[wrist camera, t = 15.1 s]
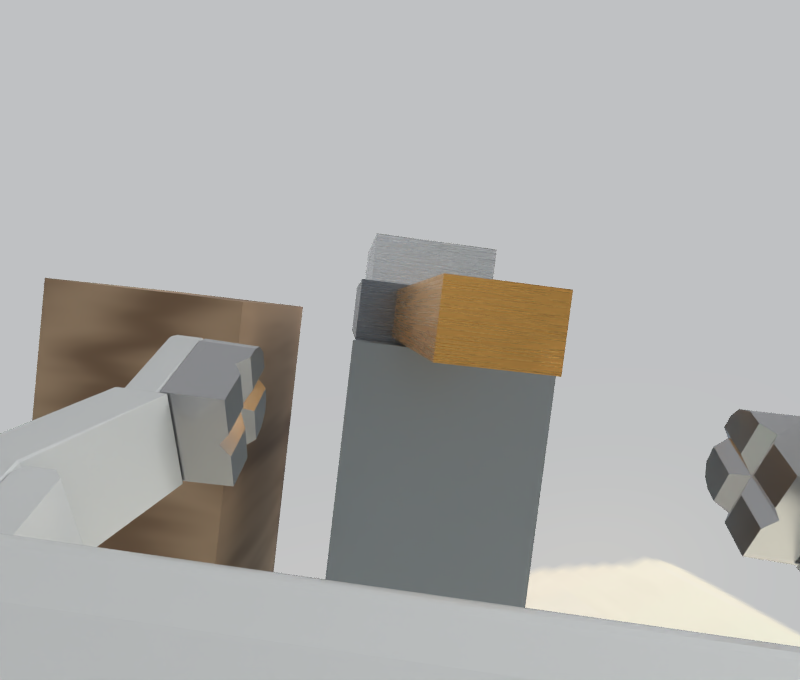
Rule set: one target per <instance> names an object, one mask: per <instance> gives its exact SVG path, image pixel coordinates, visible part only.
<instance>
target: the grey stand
mask: <svg viewBox="0 0 800 680" xmlns="http://www.w3.org/2000/svg"><path fill="white" fill-rule="evenodd" d="M555 378H556V376H550V375H541V374H532V373H523V372H514V371H505V370H496V369H487V368H478V367H469V366H460V365H451V364H442V363H433V362H431V361H430V360H428V359H426V358H425V357H423V356H422V355H420V354H418V353H417V352H415V351H413V350H412V349H410V348H409V347H407V346H405V345H403V344H394V343H385V342H376V341H367V340H358V339H356V340H353V346H352V354H351V363H350V372H349V380H348V390H347V398H346V407H345V415H344V424H343V433H342V442H341V451H340V460H339V467H338V476H337V485H336V493H335V502H334V511H333V519H332V528H331V537H330V545H329V555H328V563H327V571H326V580H333V581H340V582H347V583H354V584H361V585H368V586H375V587H382V588H389V589H396V590H403V591H410V592H417V593H424V594H431V595H438V596H445V597H452V598H459V599H467V600H474V601H481V602H488V603H495V604H502V605H509V606H516V607H523V608H525V603H526V596H527V588H528V581H529V573H530V566H531V558H532V551H533V543H534V536H535V528H536V521H537V513H538V506H539V498H540V491H541V483H542V475H543V468H544V460H545V453H546V445H547V438H548V431H549V423H550V415H551V407H552V401H553V393H554V386H555Z"/></svg>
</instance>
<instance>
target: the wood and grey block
mask: <svg viewBox="0 0 800 680" xmlns="http://www.w3.org/2000/svg"><path fill="white" fill-rule="evenodd" d="M495 258H496V250H495V249H488V248H480V247H473V246H466V245H458V244H450V243H443V242H436V241H429V240H421V239H414V238H406V237H399V236H391V235H384V234H377V235H376V237H375V239H374V241H373V244H372V246H371V248H370V251H369V254H368V262H367V271H366V279H362V281H361V283H360V284H359V285H358V287H357V294H356V303H355V312H354V320H353V329H352V330H353V334H354V336H355V339H358V340H367V341H376V342H385V343H394V344H403V345H405V346H407V347H409V348H410V349H412V350H413V351H415V352H417V353H418V354H420V355H422V356H423V357H425V358H426V359H428V360H430V361H431V362H433V363H442V364H451V365H460V366H469V367H478V368H487V369H496V370H505V371H514V372H523V373H532V374H541V375H550V376H560V377H561V374H562V367H563V359H564V352H565V345H566V337H567V330H568V322H569V315H570V307H571V300H572V293H573V290H570V289H562V288H554V287H547V286H539V285H531V284H524V283H515V282H508V281H500V280H493V274H494V266H495Z"/></svg>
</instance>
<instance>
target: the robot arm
mask: <svg viewBox="0 0 800 680" xmlns="http://www.w3.org/2000/svg"><path fill="white" fill-rule="evenodd" d="M264 368H265V366H264V354H263V351H262V349H261V348H260V347H259V346H252V345H245V344H239V343H232V342H225V341H219V340H212V339H203V338H198V337H191V336H183V335H175V336H171V337H170V338H169V339H168V340H167V341H166V342H165V343H164V344H163V345H162V346H161V348H160V349H159V350H158V351H157V352H156V353H155V354H154V355H153V357H152V358H151V359H150V360H149V361H148V362H147V363H146V364H145V366H144V367H143V368H142V369H141V370H140V371H139V372H138V373H137V375H136V376H135V377H134V378H133V379H132V380H131V381H130V383H129V384H128V385H127V386H126V387H125V388H121V387H114V388H112V389H109V390H107V391H104V392H102V393H99V394H97V395H94V396H92V397H89V398H87V399H84V400H82V401H79V402H77V403H74V404H72V405H70V406H67V407H65V408H62V409H60V410H57V411H55V412H52V413H50V414H47V415H45V416H42V417H40V418H37V419H35V420H32V421H30V422H28V423H25V424H23V425H20V426H18V427H15V428H13V429H10V430H8V431H5V432H3V433H0V680H800V647H797V646H790V645H783V644H776V643H769V642H762V641H755V640H748V639H741V638H734V637H727V636H720V635H713V634H706V633H699V632H692V631H685V630H678V629H671V628H664V627H657V626H650V625H643V624H636V623H629V622H622V621H615V620H608V619H601V618H593V617H586V616H579V615H572V614H565V613H558V612H551V611H544V610H537V609H530V608H523V607H516V606H509V605H502V604H495V603H488V602H481V601H474V600H467V599H459V598H452V597H445V596H438V595H431V594H424V593H417V592H410V591H403V590H396V589H389V588H382V587H375V586H368V585H361V584H354V583H347V582H340V581H333V580H326V579H319V578H312V577H304V576H297V575H290V574H283V573H275V572H269V571H262V570H255V569H248V568H241V567H234V566H227V565H220V564H213V563H206V562H199V561H192V560H185V559H178V558H171V557H164V556H157V555H150V554H142V553H135V552H128V551H121V550H114V549H107V548H100V547H97V546H99V545H100V544H101V543H103V542H104V541H105V540H107V539H108V538H110V537H111V536H112V535H114V534H115V533H116V532H118V531H119V530H120V529H122V528H123V527H125V526H126V525H127V524H129V523H130V522H131V521H133V520H134V519H135V518H137V517H138V516H139V515H141V514H142V513H144V512H145V511H146V510H148V509H149V508H150V507H152V506H153V505H154V504H156V503H157V502H159V501H160V500H161V499H163V498H164V497H165V496H167V495H168V494H169V493H171V492H172V491H173V490H175V489H176V488H178V487H179V486H180V485H182V484H183V481H188V482H198V483H207V484H216V485H225V486H234V485H235V483H236V481H237V478H238V476H239V474H240V472H241V470H242V468H243V466H244V464H245V462H246V460H247V444H249V443H251V442H252V441H254V440H256V438H257V436H258V434H259V432H260V429H261V427H262V423H263V419H264V415H265V407H266V388H265V386H264V385H263V384H262V383H261V382H260V380H259V377H260V375H261V374H262V372H263V370H264ZM724 428H725V430H726V433H727V436H728V439H726V440H724V441H723V442H721V443H719V444H718V445H716V446H714V448H713V449H712V452H711V454H710V456H709V458H708V460H707V463H706V475H705V478H706V483H707V487H708V490H709V492H710V494H711V496H712V498H713V500H714V501H715V502H716V503H717V504H718V505H719V506H721V507H722V508H723V509H724V510H726V511H727V512H728V516H727V518H726V521H725V524H726V526H727V528H728V529H729V531H730V533H731V535H732V537H733V539H734V541H735V543H736V545H737V547H738V549H739V550H740V552H741V554H742V556H744V557H749V558H756V559H761V560H768V561H774V562H780V563H786V564H792V565H798V566H797V569H798V570H800V416H793V415H784V414H775V413H767V412H758V411H750V410H740V409H739V410H738V411H736V412H735V413H734V414H733V415H731V417H730V418H729V420H728V422H727V424H726V425H725V427H724Z"/></svg>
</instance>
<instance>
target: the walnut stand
mask: <svg viewBox="0 0 800 680" xmlns="http://www.w3.org/2000/svg"><path fill="white" fill-rule="evenodd" d="M302 309H303V307H298V306H291V305H283V304H274V303H266V302H257V301H249V300H240V299H232V298H224V297H215V296H207V295H199V294H191V293H182V292H174V291H164V290H155V289H145V288H136V287H126V286H117V285H107V284H97V283H88V282H79V281H69V280H59V279H49V278H45V283H44V295H43V306H42V317H41V328H40V340H39V351H38V362H37V363H38V364H37V375H36V386H35V397H34V408H33V420H35V419H37V418H40V417H42V416H45V415H47V414H50V413H52V412H55V411H57V410H60V409H62V408H65V407H67V406H70V405H72V404H74V403H77V402H79V401H82V400H84V399H87V398H89V397H92V396H94V395H97V394H99V393H102V392H104V391H107V390H109V389H112V388H114V387H121V388H125V387H126V386H127V385H128V384H129V383H130V381H131V380H132V379H133V378H134V377H135V376H136V375H137V373H138V372H139V371H140V370H141V369H142V368H143V367H144V366H145V364H146V363H147V362H148V361H149V360H150V359H151V358H152V357H153V355H154V354H155V353H156V352H157V351H158V350H159V349H160V348H161V346H162V345H163V344H164V343H165V342H166V341H167V340H168V339H169V338H170V337H171V336H175V335H183V336H191V337H198V338H203V339H212V340H219V341H225V342H232V343H239V344H245V345H252V346H259V347H260V348H261V349H262V351H263V354H264V366H265V368H264V370H263V372H262V374H261V375H260V377H259V380H260V382H261V383H262V384H263V385H264V386H265V388H266V407H265V415H264V419H263V423H262V427H261V429H260V432H259V434H258V436H257V438H256V440H254V441H252V442H251V443H249V444H247V460H246V462H245V464H244V466H243V468H242V470H241V472H240V474H239V476H238V478H237V481H236V483H235V485H234V486H225V485H216V484H207V483H198V482H188V481H183V484H182V485H180V486H179V487H178V488H176V489H175V490H173V491H172V492H171V493H169V494H168V495H167V496H165V497H164V498H163V499H161V500H160V501H159V502H157V503H156V504H154V505H153V506H152V507H150V508H149V509H148V510H146V511H145V512H144V513H142V514H141V515H139V516H138V517H137V518H135V519H134V520H133V521H131V522H130V523H129V524H127V525H126V526H125V527H123V528H122V529H120V530H119V531H118V532H116V533H115V534H114V535H112V536H111V537H110V538H108V539H107V540H105V541H104V542H103V543H101V544H100V545H99V546H97V547H100V548H107V549H114V550H121V551H128V552H135V553H142V554H150V555H157V556H164V557H171V558H178V559H185V560H192V561H199V562H206V563H213V564H220V565H227V566H234V567H241V568H248V569H255V570H262V571H269V572H273V570H274V562H275V552H276V544H277V534H278V526H279V525H278V524H279V517H280V507H281V498H282V490H283V480H284V472H285V463H286V453H287V444H288V435H289V426H290V417H291V407H292V399H293V390H294V381H295V372H296V363H297V354H298V345H299V336H300V326H301V318H302Z"/></svg>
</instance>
